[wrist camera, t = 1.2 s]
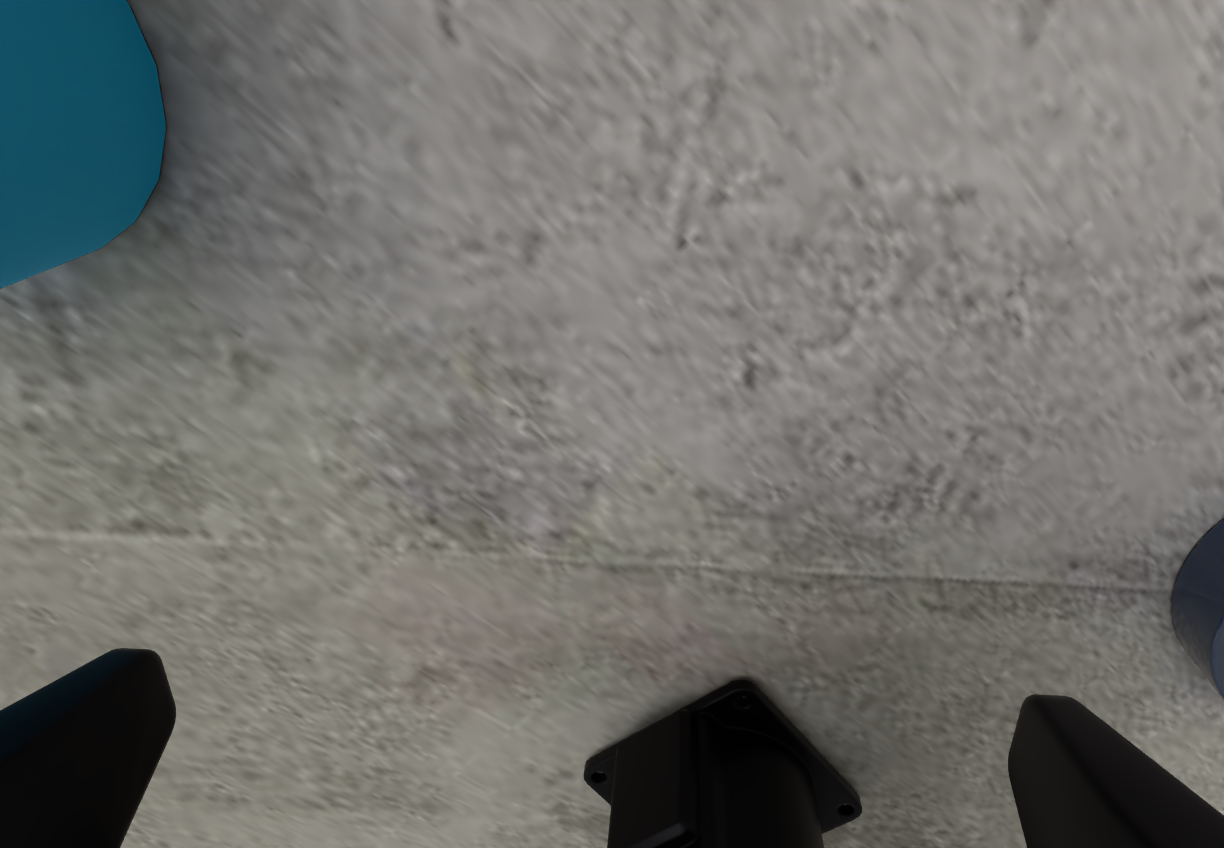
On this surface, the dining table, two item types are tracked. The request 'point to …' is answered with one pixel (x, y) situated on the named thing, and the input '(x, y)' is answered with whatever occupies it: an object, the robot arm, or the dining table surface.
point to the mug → (73, 130)
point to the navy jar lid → (1203, 606)
